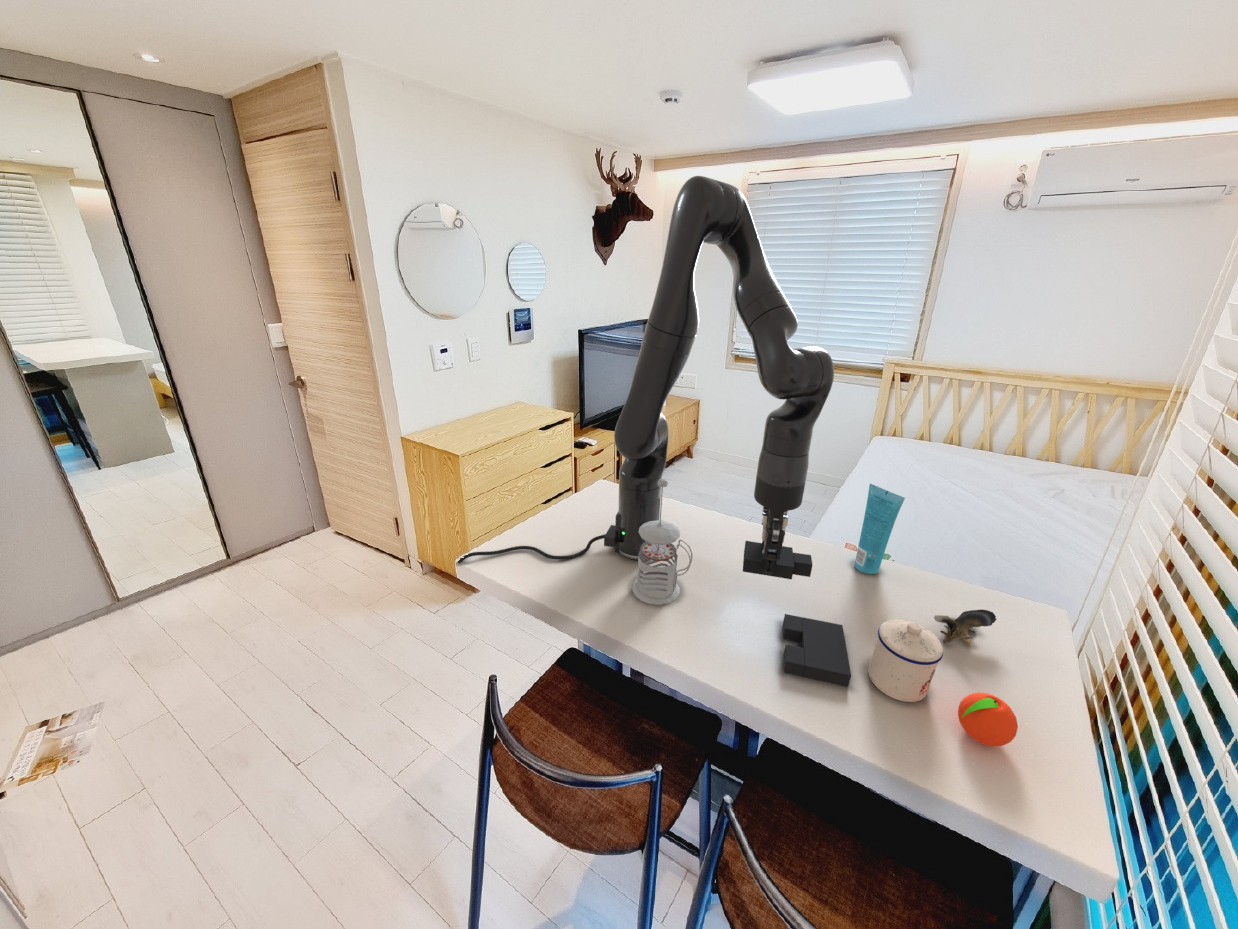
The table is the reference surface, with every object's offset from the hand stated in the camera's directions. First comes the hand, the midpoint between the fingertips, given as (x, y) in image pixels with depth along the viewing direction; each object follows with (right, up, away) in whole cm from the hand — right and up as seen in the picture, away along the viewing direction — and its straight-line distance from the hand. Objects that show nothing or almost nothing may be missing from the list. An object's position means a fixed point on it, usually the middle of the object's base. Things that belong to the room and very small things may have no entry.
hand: (767, 562), depth 87 cm
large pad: (+8, -16, +1) cm, 18 cm away
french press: (-17, -9, +16) cm, 25 cm away
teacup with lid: (+20, -18, -3) cm, 27 cm away
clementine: (+27, -23, -13) cm, 38 cm away
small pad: (+1, -1, 0) cm, 2 cm away
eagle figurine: (+36, -15, +5) cm, 40 cm away
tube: (+29, -6, +24) cm, 38 cm away
